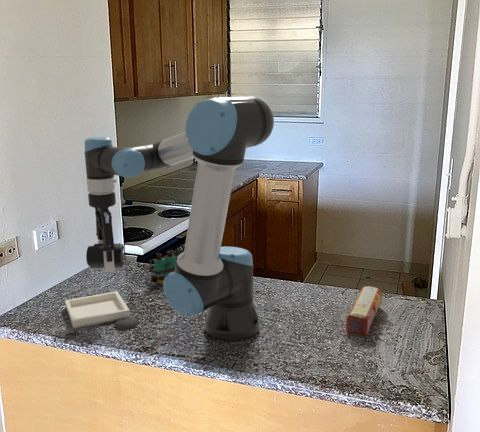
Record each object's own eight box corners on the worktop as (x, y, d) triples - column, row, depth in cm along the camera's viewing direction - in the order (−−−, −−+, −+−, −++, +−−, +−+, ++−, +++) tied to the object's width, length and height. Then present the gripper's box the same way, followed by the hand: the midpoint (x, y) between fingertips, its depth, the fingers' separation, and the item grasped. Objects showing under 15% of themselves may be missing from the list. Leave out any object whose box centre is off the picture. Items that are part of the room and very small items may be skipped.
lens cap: (140, 327, 148) (140, 324, 148) (117, 332, 146) (117, 329, 145) (134, 318, 154) (134, 315, 154) (112, 323, 151) (112, 320, 151)
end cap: (87, 271, 153) (85, 249, 151) (93, 262, 159) (91, 241, 158) (121, 271, 153) (120, 249, 151) (126, 262, 160) (125, 241, 158)
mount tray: (129, 317, 154) (129, 310, 153) (73, 328, 147) (72, 321, 147) (117, 298, 168) (117, 291, 167) (65, 307, 161) (65, 300, 161)
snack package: (368, 339, 139) (369, 315, 138) (343, 334, 142) (344, 311, 140) (381, 307, 158) (383, 287, 156) (359, 304, 161) (360, 283, 159)
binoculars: (163, 246, 189) (178, 249, 181) (166, 274, 190) (181, 279, 183) (141, 251, 183) (156, 255, 175) (145, 280, 185) (159, 285, 177)
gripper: (122, 198, 142) (127, 276, 148) (108, 183, 161) (113, 253, 167) (93, 201, 139) (99, 280, 145) (83, 185, 158) (88, 256, 164)
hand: (106, 265), depth 156 cm, fingers closed on end cap, 9 cm apart
